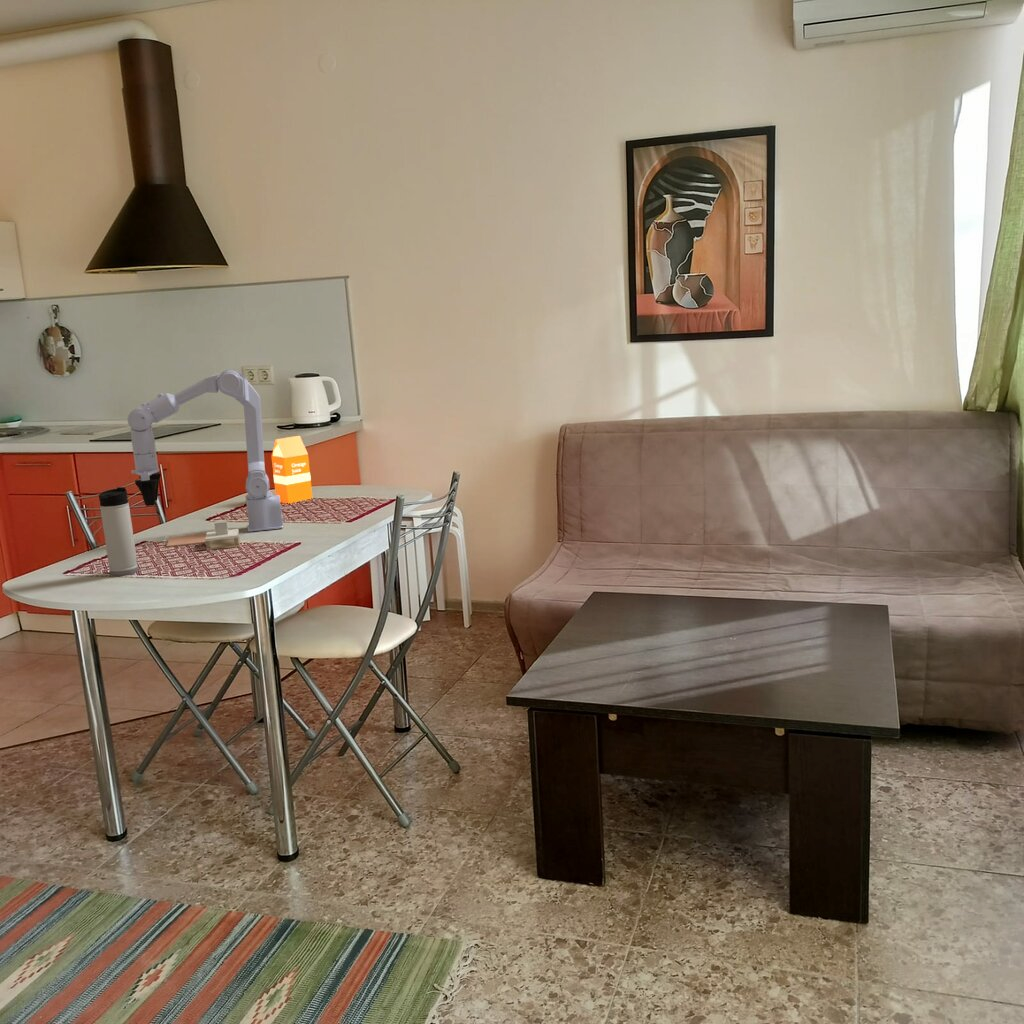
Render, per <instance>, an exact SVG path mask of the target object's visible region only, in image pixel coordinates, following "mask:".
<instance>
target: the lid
mask: <svg viewBox="0 0 1024 1024" xmlns="http://www.w3.org/2000/svg"><path fill="white" fill-rule="evenodd" d="M238 532H239V528H234V529H229V528H228V520H227V519H223V520H215V521H214V530H213V531H207V532H206V533H207V534H206V538H205V541H211V540H220V539H230V538H238ZM239 533H240V532H239Z"/></svg>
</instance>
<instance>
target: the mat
mask: <svg viewBox="0 0 1024 1024" xmlns="http://www.w3.org/2000/svg"><path fill="white" fill-rule="evenodd" d="M206 534H207V532H205V533H204V532H203V533H195V534H185V535H176V536H169V538H168V541H167V543H166V546H165V547H166V548H174V547H176V548H177V547H182V546H193V545H202V544H206V541H205V538H206Z"/></svg>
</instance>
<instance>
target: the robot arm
mask: <svg viewBox="0 0 1024 1024" xmlns="http://www.w3.org/2000/svg"><path fill="white" fill-rule="evenodd" d="M219 391H220V392H221V393H222V394H224V395H227V396H228V397H231V398H234V399H235V400H236V401H237V402H238V403H240V404H241V405H242V406H243V411H244V427H245V444H246V455H247V457H246V458H247V472H248V474H247V476H246V478H245V491H246V492H247V494H246V495H245V502H246V512H247V513H246V514H247V520H248V524H247V532H249V533H250V532H258V531H259V532H260V531H269V530H276V529H277V530H278V529H283V528H284V514H283V513H282V504H281V502H280V495H276V494H275V495H274V494H273V492H272V491H270V479H269V475H268V474H267V472H266V468H265V467H266V466H265V453H264V451H265V450H264V438H263V437H264V436H263V422H262V421H263V420H262V405H261V397H260V394H259V393H258V392H257V391H256V389H255V388H254V387H253V386H252V384H251V383H250V382H249V380H248V379H247V378H246V376H245V375H243V374H241V373H240V372H239V371H237V370H236V369H235V370H234V369H226V370H223V371H222V372H221V373H219V372H218V373H215V374H212V375H210V376H207V377H204V378H202V379H201V380H199V381H197V382H195V383H194V384H192V385H190V386H188V387H186V388H184V389H183V390H180V391H179V392H177V393H175V394H171V393H168V392H166V393H164V394H163V393H162V392H161V393H158V394H157V397H156V398H154V399H151V400H150V401H147V403H146V402H142V403H140V406H141V407H136V408H134V409H133V410H131V411H130V412H129V414H128V416H127V424H128V426H129V428H130V434H131V437H130V438H131V439H130V440H131V446H132V453H133V459H134V467H135V469H132V470H131V475H132V474H134V475H135V474H136V475H137V476H138V478H139V479H136V480H135V481H134V484H135V485H136V487H137V488H138V489H139V491H140V493H141V494H140V495H141V496H142V497H141V498H142V499H143V502H144V504H145V507H152V506H155V503H156V501H158V497H159V485H160V481H161V480H160V479H161V476H162V473H161V472H160V468H159V462H158V455H157V448H156V441H155V435H154V431H153V426H152V424H153V423H155V424H156V423H157V424H158V423H159V422H162V421H163V420H165V419H167V418H169V417H171V416H173V415H175V414H177V413H179V410H180V406H181V405H183V404H186V403H188V402H190V401H191V400H194V399H196V398H198V397H200V396H202V395H203V394H206V393H212V394H213V393H215V394H218V392H219Z"/></svg>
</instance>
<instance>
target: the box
mask: <svg viewBox="0 0 1024 1024" xmlns="http://www.w3.org/2000/svg"><path fill="white" fill-rule="evenodd" d="M239 533H240V532H238V538H230V539H220V540H211V541H206V543H205V547H206V551H211V550H212V551H213V550H221V549H229V548H237V547H238V548H240V534H239Z"/></svg>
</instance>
